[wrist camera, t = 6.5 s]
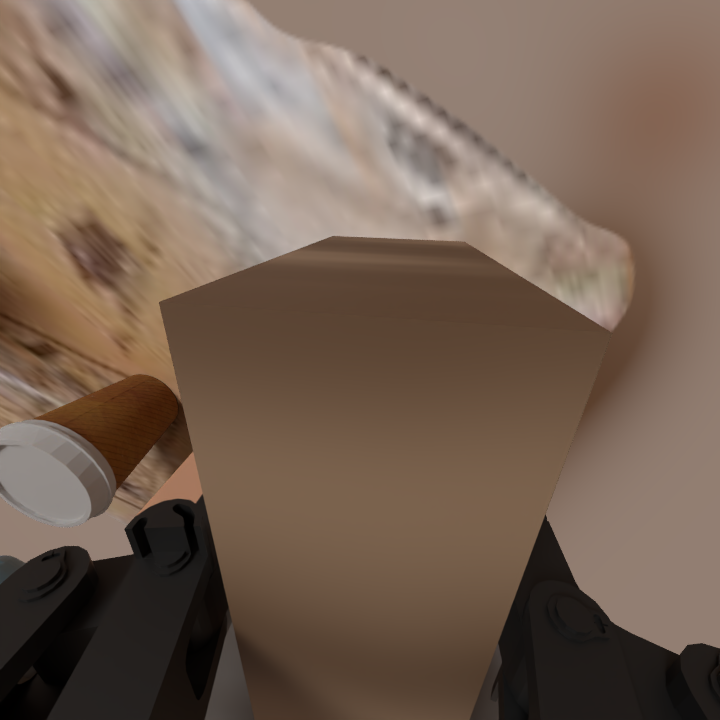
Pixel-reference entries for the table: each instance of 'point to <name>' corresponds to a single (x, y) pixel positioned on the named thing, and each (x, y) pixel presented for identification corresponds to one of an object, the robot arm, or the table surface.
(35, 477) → the disposable coffee cup
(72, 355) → the table surface
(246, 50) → the table surface
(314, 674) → the tan flared wedge
